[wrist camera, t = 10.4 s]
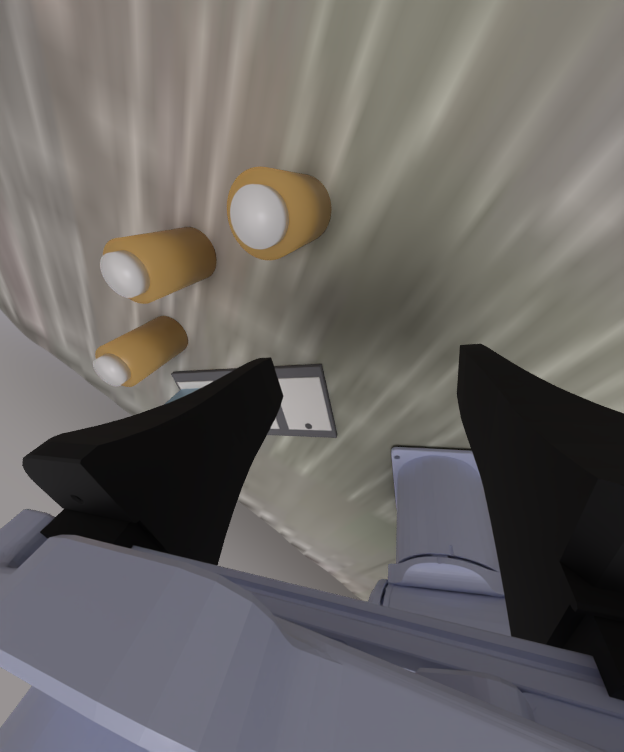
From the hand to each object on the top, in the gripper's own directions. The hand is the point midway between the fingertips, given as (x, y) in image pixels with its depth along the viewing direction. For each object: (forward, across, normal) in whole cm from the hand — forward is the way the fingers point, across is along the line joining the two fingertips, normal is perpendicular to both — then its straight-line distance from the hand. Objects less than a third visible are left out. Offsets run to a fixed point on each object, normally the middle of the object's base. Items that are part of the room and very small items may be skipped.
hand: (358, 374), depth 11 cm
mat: (+10, +13, +9) cm, 19 cm away
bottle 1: (+10, +13, -5) cm, 17 cm away
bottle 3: (+10, +4, -6) cm, 12 cm away
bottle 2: (+10, +19, +1) cm, 21 cm away
